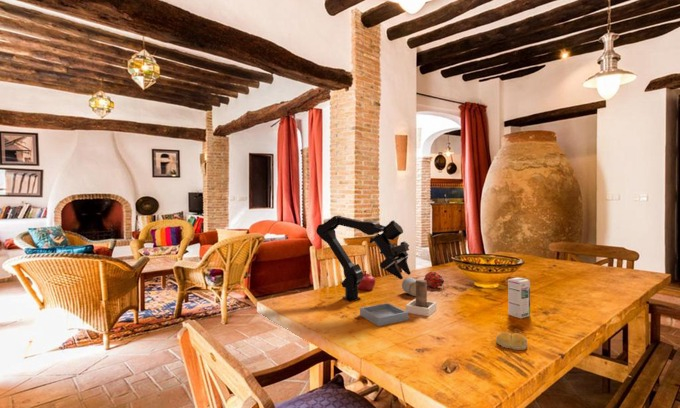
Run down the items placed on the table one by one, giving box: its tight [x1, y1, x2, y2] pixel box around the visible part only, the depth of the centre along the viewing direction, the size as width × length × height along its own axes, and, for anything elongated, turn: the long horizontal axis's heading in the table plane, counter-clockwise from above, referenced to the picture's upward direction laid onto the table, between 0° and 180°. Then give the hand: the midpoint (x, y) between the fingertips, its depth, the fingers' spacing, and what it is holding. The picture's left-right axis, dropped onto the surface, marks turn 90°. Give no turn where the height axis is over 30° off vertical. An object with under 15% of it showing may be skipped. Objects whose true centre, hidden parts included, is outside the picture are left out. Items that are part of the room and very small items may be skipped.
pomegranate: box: [357, 270, 376, 291], centre depth 188 cm, size 10×10×9 cm
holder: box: [405, 298, 437, 317], centre depth 153 cm, size 10×10×3 cm
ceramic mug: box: [401, 276, 417, 297], centre depth 177 cm, size 11×8×8 cm
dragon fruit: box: [423, 271, 445, 289], centre depth 189 cm, size 8×8×12 cm
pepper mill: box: [415, 279, 428, 308], centre depth 152 cm, size 4×4×12 cm
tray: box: [359, 302, 409, 327], centre depth 145 cm, size 14×14×3 cm
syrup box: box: [507, 277, 531, 319], centre depth 146 cm, size 6×6×14 cm
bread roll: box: [496, 331, 528, 351], centre depth 119 cm, size 8×9×4 cm
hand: (405, 276), depth 157 cm, fingers open, 9 cm apart
